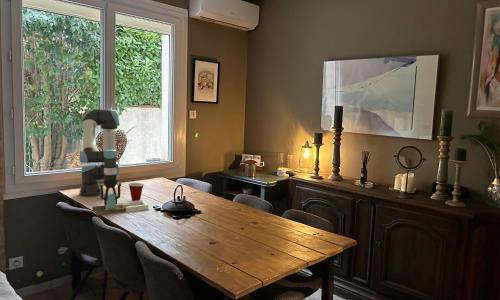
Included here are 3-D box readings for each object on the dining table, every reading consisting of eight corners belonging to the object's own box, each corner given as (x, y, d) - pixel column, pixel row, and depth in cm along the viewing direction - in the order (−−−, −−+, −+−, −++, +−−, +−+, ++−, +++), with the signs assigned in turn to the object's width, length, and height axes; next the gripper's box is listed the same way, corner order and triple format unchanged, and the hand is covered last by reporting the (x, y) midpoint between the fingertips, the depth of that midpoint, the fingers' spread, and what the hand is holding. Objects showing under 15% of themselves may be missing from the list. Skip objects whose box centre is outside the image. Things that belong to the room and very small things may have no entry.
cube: (121, 209, 252) (121, 203, 251) (127, 208, 254) (127, 202, 253) (122, 210, 248) (122, 204, 248) (128, 210, 250) (128, 204, 249)
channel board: (92, 210, 247) (92, 206, 247) (121, 206, 257) (121, 203, 257) (96, 215, 237) (96, 211, 236) (126, 212, 246) (126, 208, 246)
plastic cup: (146, 200, 275) (146, 184, 273) (132, 202, 268) (131, 186, 267) (140, 197, 283) (140, 181, 282) (126, 199, 276) (126, 183, 275)
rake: (106, 209, 249) (106, 192, 248) (112, 208, 252) (112, 192, 250) (108, 212, 243) (108, 195, 241) (115, 211, 245) (115, 194, 243)
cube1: (114, 209, 251) (114, 203, 250) (120, 208, 253) (120, 202, 252) (115, 211, 247) (115, 205, 247) (122, 210, 250) (122, 204, 249)
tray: (121, 206, 257) (121, 202, 257) (142, 204, 265) (142, 200, 264) (126, 212, 246) (126, 207, 246) (148, 209, 254) (148, 204, 253)
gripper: (97, 175, 236) (97, 212, 239) (125, 174, 245) (125, 209, 248) (95, 173, 243) (95, 209, 246) (122, 171, 252) (122, 206, 255)
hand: (110, 209), depth 247 cm, fingers closed on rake, 4 cm apart
